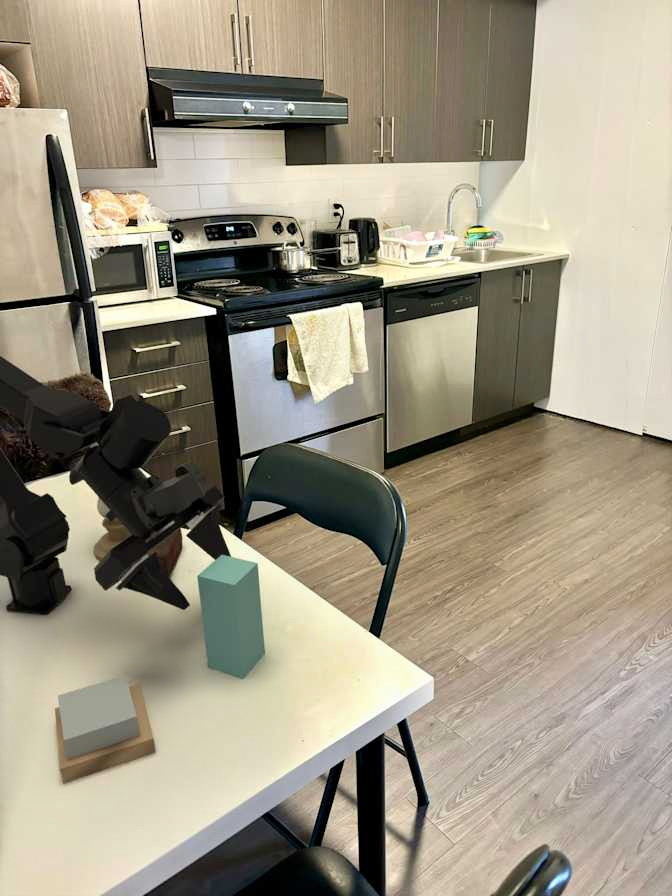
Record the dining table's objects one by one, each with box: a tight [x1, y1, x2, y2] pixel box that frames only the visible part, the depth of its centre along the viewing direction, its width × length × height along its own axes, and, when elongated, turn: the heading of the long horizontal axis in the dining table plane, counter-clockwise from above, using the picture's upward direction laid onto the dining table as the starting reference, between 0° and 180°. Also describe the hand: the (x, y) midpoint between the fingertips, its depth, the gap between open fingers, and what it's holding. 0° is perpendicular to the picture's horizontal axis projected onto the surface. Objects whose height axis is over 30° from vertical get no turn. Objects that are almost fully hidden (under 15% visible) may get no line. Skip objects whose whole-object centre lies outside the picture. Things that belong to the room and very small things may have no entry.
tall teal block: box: [196, 555, 266, 679], centre depth 80 cm, size 5×5×13 cm
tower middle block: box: [57, 674, 140, 760], centre depth 71 cm, size 7×7×2 cm
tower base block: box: [54, 683, 157, 784], centre depth 72 cm, size 9×9×2 cm
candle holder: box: [90, 443, 131, 562], centre depth 105 cm, size 9×9×20 cm
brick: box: [147, 528, 183, 579], centre depth 103 cm, size 11×4×5 cm, turn 1°
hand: (210, 586), depth 80 cm, fingers open, 9 cm apart
